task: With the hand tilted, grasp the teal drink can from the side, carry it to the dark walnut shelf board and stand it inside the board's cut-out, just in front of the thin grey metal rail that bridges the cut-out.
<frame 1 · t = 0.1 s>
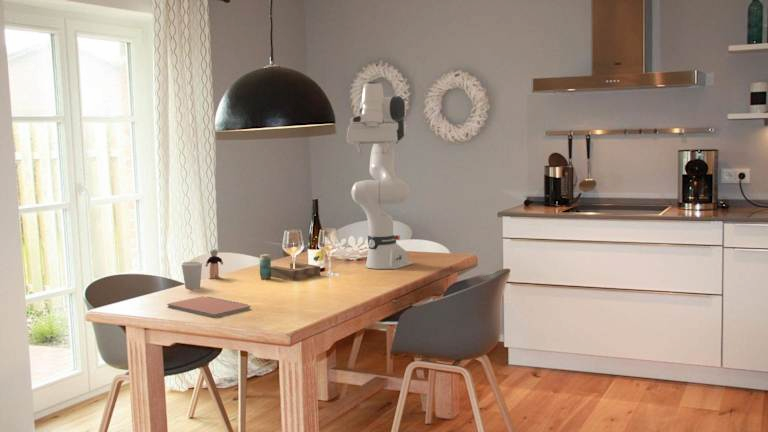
hand: (372, 153, 323), 52 cm above the table, tool tilted 20°, fingers open, 8 cm apart
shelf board: (294, 275, 346), on the table
notebook: (209, 309, 288), on the table
teal drink can: (265, 278, 341), on the table
dixie cup: (192, 288, 325), on the table
grandmother figurine: (215, 278, 345), on the table
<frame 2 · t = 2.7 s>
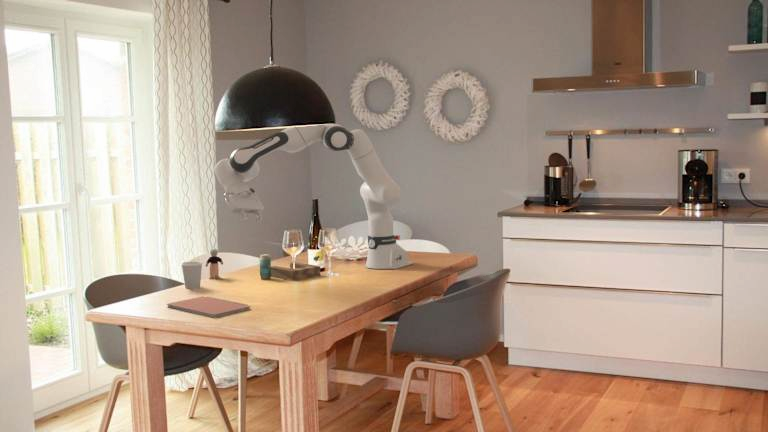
hand: (253, 220, 337), 25 cm above the table, tool tilted 40°, fingers open, 8 cm apart
nothing on the table moved.
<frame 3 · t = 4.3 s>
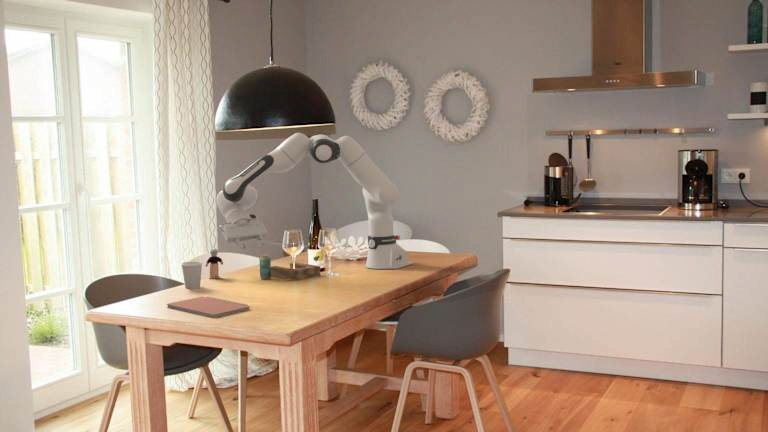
hand: (252, 246, 346), 13 cm above the table, tool tilted 45°, fingers open, 8 cm apart
nothing on the table moved.
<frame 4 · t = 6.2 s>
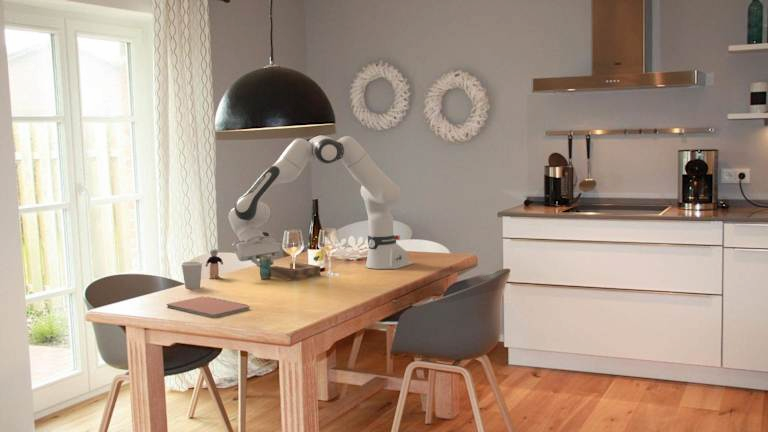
hand: (266, 265, 340), 6 cm above the table, tool tilted 45°, fingers closed on teal drink can, 5 cm apart
teal drink can: (265, 278, 341), on the table, touching gripper
everything else where it was.
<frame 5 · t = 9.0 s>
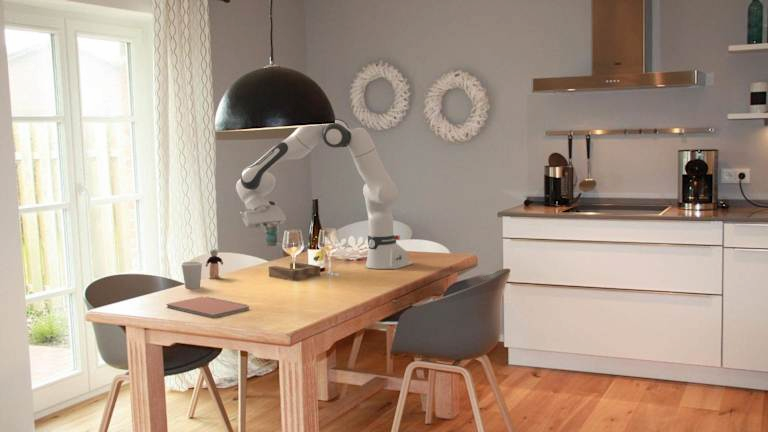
hand: (272, 232, 355), 18 cm above the table, tool tilted 45°, fingers closed on teal drink can, 5 cm apart
teal drink can: (271, 245, 356), point 12 cm above the table, touching gripper
everything else where it was.
when the fingers open (8 cm above the table, at t = 11.7 s): teal drink can drops 2 cm, resting in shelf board.
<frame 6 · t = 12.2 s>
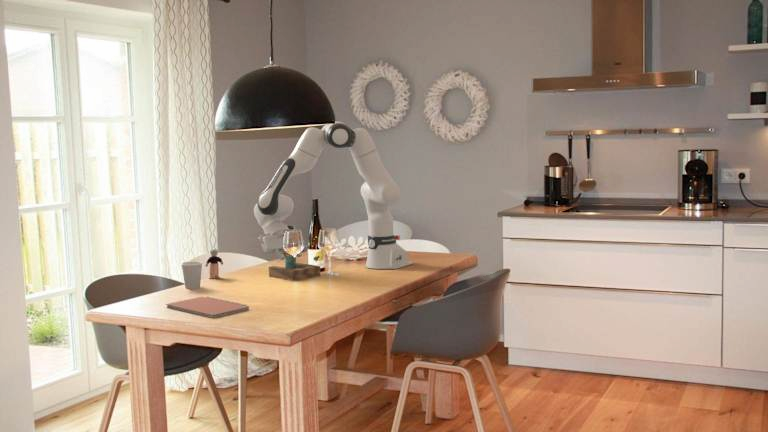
hand: (291, 257, 347), 8 cm above the table, tool tilted 45°, fingers open, 8 cm apart
teal drink can: (291, 275, 348), resting in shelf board
everything else where it was.
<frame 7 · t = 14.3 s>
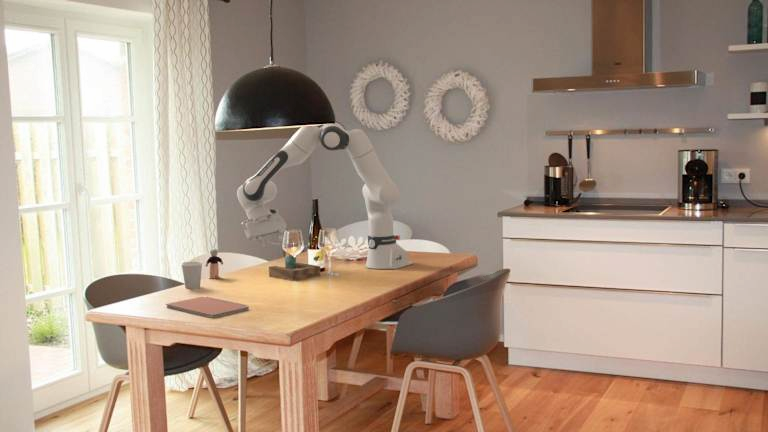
hand: (273, 242, 358), 12 cm above the table, tool tilted 35°, fingers open, 8 cm apart
nothing on the table moved.
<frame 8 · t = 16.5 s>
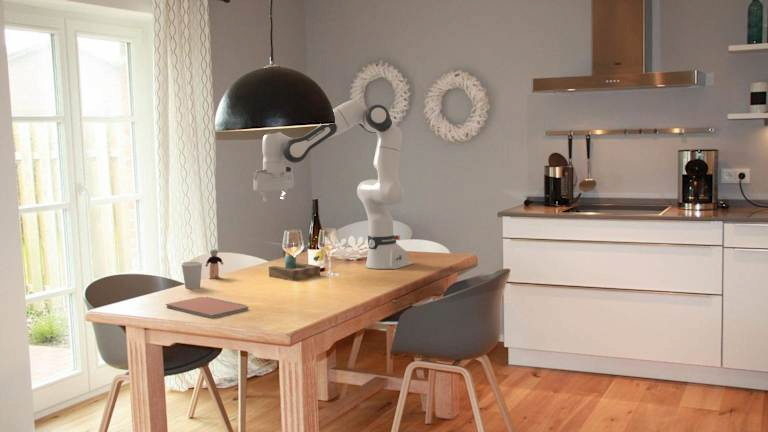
hand: (274, 200, 357), 31 cm above the table, tool pointing down, fingers open, 8 cm apart
nothing on the table moved.
at the end: teal drink can inside the target area on the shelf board (0.5 cm from its centre), point 0.0 cm above the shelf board's base; teal drink can tilted 0°; the gripper is holding nothing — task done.
